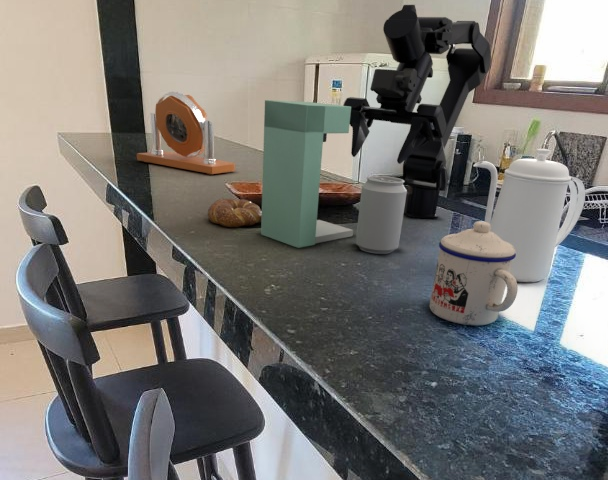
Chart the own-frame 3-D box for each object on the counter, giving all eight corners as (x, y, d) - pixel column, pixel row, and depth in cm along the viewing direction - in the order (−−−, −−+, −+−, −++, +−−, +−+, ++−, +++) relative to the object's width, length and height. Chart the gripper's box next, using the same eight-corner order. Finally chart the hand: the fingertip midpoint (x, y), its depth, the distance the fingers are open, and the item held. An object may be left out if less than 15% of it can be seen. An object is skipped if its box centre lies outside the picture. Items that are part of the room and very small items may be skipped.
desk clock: (210, 176, 148) (209, 95, 138) (135, 161, 161) (130, 87, 152) (238, 172, 157) (239, 96, 148) (165, 158, 171) (161, 88, 161)
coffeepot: (427, 269, 84) (450, 142, 76) (536, 257, 95) (567, 145, 86) (475, 292, 76) (508, 153, 67) (589, 276, 87) (629, 154, 78)
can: (396, 257, 89) (407, 183, 83) (352, 252, 90) (360, 178, 85) (398, 246, 96) (409, 176, 90) (357, 241, 97) (365, 172, 91)
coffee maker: (317, 225, 105) (326, 102, 95) (354, 236, 99) (369, 107, 89) (260, 234, 96) (264, 100, 86) (298, 248, 90) (307, 105, 80)
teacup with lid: (413, 303, 70) (428, 215, 65) (467, 297, 74) (486, 212, 69) (472, 341, 61) (496, 241, 55) (531, 332, 64) (559, 237, 59)
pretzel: (252, 231, 98) (253, 211, 96) (196, 224, 99) (196, 204, 98) (269, 218, 108) (270, 199, 106) (218, 212, 110) (218, 193, 108)
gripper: (348, 46, 93) (313, 124, 92) (449, 50, 84) (412, 137, 83) (368, 90, 103) (336, 161, 102) (460, 97, 94) (427, 176, 93)
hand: (375, 158), depth 95 cm, fingers open, 9 cm apart
